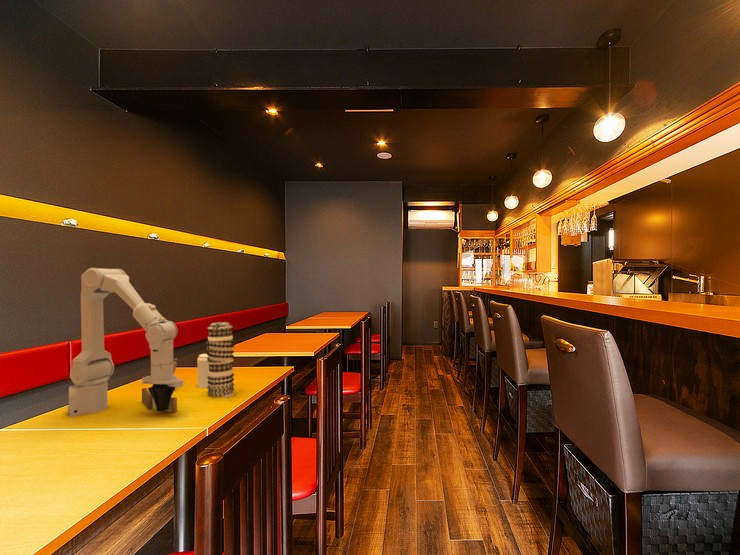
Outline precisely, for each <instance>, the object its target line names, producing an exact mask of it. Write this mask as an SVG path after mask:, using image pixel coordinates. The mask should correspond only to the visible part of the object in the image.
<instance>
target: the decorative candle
mask: <svg viewBox="0 0 740 555" xmlns="http://www.w3.org/2000/svg"><path fill="white" fill-rule="evenodd" d="M207 329H208V336H207V340H206V342H205V345H207V347H206V348H205V349H206V353H205V354H207V355H208V356H209V357H208V358H207V360H208V361H207V363H209V371H208V375H209V376H208V377H207V378H208V379H209V380H208V382H207V383H208V384H209V385H208V387H207V388H206V389H207V392H206V393H207V394H208V395H209V396H210V397H215V398H218V397H220V398H221V397H222V398H224V399H227V398H231V397H233V396H234V395H235V392H234V391H235V388H234V386H235V383H234V380H235V378H234V376H235V373H234V368H233V362H234V360H235V359H234V357H235V355H234V353H235V351H234V350H233V348H234V347H235V344H234V343H235V340H234V337H233V325H231V324H230V322H227V321H224V322H223V321H219V322H212V323H210V325H209V326H208V327H207Z"/></svg>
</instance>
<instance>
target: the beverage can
mask: <svg viewBox="0 0 740 555" xmlns="http://www.w3.org/2000/svg"><path fill="white" fill-rule="evenodd" d="M208 357H209V356H208V355H207V354H206V353H202V354H199V355H198V357H197V361H196V362H197V366H196V367H197V388H198V389H199V388H200V389H207V387H208V385H209V384H208V383H207V382H208V380H209V379H208V378H207V377H208V376H209V375H208V371H209V363H207V361H208V360H207V358H208Z"/></svg>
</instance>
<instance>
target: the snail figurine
mask: <svg viewBox="0 0 740 555" xmlns="http://www.w3.org/2000/svg"><path fill="white" fill-rule="evenodd" d="M177 360H178V358H174V361H173V375H175V372H176V370H177V365H178V363H177V362H178V361H177Z"/></svg>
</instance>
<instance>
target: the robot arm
mask: <svg viewBox="0 0 740 555" xmlns="http://www.w3.org/2000/svg"><path fill="white" fill-rule="evenodd" d="M80 281H81V282H80V285H81V291H80V318H81V319H80V324H81V328H80V329H81V352H80V353H79V354H78V355H77V356H75V357H74V358H73V359H72V365H71V369H70V371H69V372H70V373H69V377H70V380H71V382H73V384H74V385H70V386H69V387H68V405H67V412H68V414H69V417H70V418H73V417H77V416H78V417H79V416H83V415H89V414H94V413H95V414H96V413H99V412H102V411H105V410H107V409H108V400H109V399H108V398H109V397H108V381H109V380H110V378H111V376H112V375H113V374H114V372H115V364H114V362H113V359H112V354H111V352H109V351H107V350H105V327H104V326H105V325H104V324H105V323H104V322H105V321H104V299H105V298H106V297H107V296H108V295H110V294H112V293H115V294H117V296H119V297H120V298H121V300H123V302H124V303H126V304H127V305H128V306H129V307H130V308H131V309H132V311H133V312H132V317H133V318H134V319H135V321H137V322H138V324H139V325H140V326H141V327H142V328H143V329H144V331H145V335H144V336H145V339H146V341H147V342H148V344H149V345H148V347H149V350H150V375H147V376H143V377H141V384H142V385H147V384H149V385H152V386H150V387H148V388H147V391H148V392H149V393H150V394H151V395H152V397H153V399H154V402H155V405H156V408H157V410H156V411H157V412H166V411H165V410H167V409H168V406H169V402H170V399H171V397H173V393H174V392H175V390H176V389H180V388H182V387H184V379H181V378H178V377H177V375H176V374H173V362H174V339H175V338H176V337H177V335H178V331H179V330H178V328H177V327H178V326H177V325H176V323H175V322H174V321H171V320H167V318H165V317H164V316H163V315H162V314H161V313H160V312H159V311H158V309H157V307H156V305H155V304H152V303H149V302H148V303H147V302H145V301H144V300H143V298H142V297H141V296H140V294H139V293H138V292H137V291H136V289H135V288H134V287H133V285H132V284H131V282H130V276H129V275H128V274H126V272H125V271H124V269H121V268H97V267H90V268H88V269H86V270H85V271H84V272H83V273H82V274H81V276H80Z"/></svg>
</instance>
